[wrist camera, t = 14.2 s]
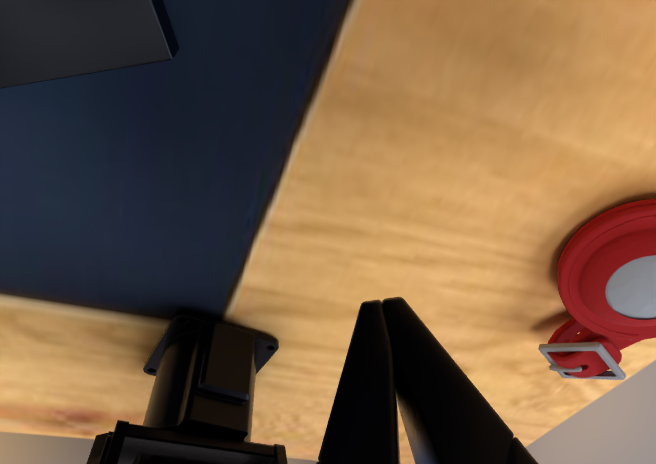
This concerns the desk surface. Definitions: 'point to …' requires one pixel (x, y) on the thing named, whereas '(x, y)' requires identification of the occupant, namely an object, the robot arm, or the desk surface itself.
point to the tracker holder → (606, 292)
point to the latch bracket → (80, 37)
